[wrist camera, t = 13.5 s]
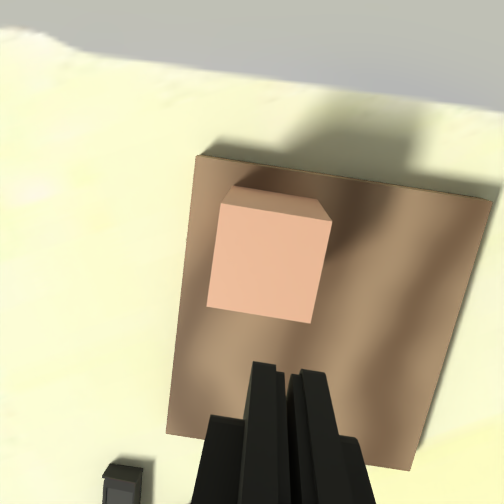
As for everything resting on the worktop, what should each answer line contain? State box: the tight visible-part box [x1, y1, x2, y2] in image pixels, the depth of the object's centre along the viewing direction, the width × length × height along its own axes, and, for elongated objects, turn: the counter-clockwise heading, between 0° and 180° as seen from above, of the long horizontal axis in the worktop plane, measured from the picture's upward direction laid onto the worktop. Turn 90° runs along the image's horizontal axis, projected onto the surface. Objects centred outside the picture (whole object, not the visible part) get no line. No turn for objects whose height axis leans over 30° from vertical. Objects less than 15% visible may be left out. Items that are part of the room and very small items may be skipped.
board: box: [166, 155, 493, 471], centre depth 29 cm, size 18×20×2 cm
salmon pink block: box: [206, 185, 332, 323], centre depth 23 cm, size 5×5×7 cm
